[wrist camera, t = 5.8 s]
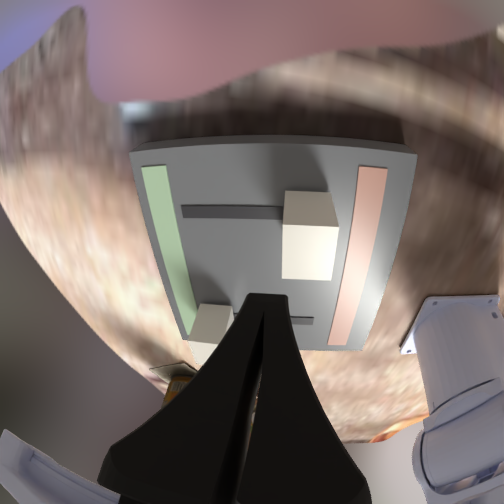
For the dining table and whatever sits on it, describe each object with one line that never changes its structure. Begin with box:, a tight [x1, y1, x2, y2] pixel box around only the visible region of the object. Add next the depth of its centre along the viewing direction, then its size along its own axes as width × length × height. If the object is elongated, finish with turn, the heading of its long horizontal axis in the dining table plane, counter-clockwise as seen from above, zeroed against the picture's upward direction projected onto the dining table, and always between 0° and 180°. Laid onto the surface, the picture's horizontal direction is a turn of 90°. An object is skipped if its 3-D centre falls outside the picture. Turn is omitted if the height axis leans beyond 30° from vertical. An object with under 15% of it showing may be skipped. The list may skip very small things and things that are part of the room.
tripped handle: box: [282, 191, 339, 281], centre depth 14 cm, size 2×3×4 cm
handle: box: [188, 303, 234, 365], centre depth 20 cm, size 2×3×4 cm
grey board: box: [129, 135, 418, 351], centre depth 19 cm, size 16×17×2 cm
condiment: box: [149, 363, 197, 408], centre depth 30 cm, size 7×8×12 cm
